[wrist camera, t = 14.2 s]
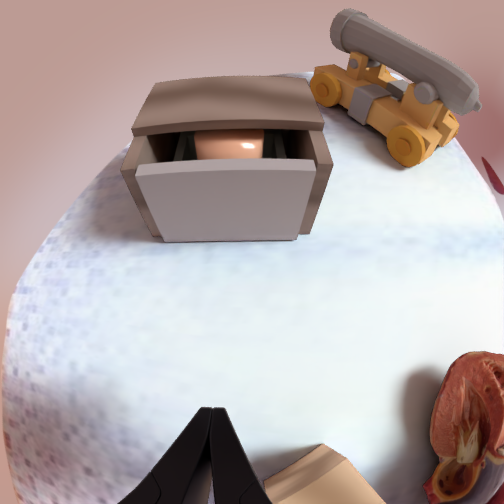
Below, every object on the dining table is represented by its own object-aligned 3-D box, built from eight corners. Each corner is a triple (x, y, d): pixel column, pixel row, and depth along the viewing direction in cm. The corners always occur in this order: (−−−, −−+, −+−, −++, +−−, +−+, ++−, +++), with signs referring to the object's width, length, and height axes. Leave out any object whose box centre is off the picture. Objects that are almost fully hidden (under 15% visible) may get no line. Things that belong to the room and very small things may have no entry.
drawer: (296, 239, 23) (316, 171, 16) (164, 241, 22) (134, 176, 15) (284, 158, 27) (293, 92, 20) (179, 160, 27) (165, 96, 20)
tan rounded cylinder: (260, 209, 23) (265, 154, 18) (199, 208, 23) (189, 155, 18) (259, 167, 25) (263, 115, 20) (205, 167, 25) (199, 115, 20)
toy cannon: (422, 188, 27) (480, 87, 14) (300, 94, 35) (312, 4, 22) (460, 153, 32) (499, 83, 18) (362, 80, 40) (378, 13, 27)
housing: (309, 234, 23) (336, 155, 15) (152, 236, 23) (116, 161, 15) (294, 149, 28) (305, 78, 20) (171, 152, 28) (155, 83, 20)
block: (301, 520, 12) (315, 550, 7) (263, 480, 14) (268, 507, 9) (357, 483, 13) (386, 503, 9) (323, 443, 15) (346, 458, 11)
